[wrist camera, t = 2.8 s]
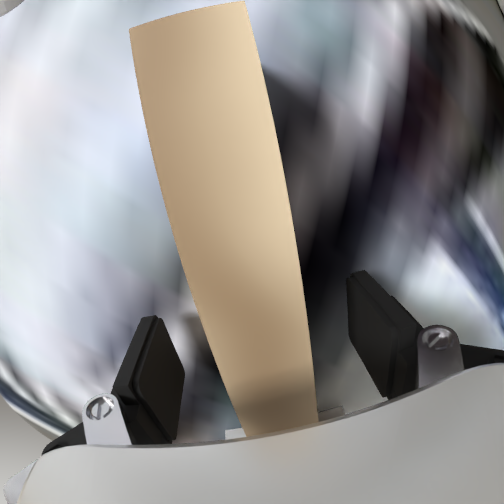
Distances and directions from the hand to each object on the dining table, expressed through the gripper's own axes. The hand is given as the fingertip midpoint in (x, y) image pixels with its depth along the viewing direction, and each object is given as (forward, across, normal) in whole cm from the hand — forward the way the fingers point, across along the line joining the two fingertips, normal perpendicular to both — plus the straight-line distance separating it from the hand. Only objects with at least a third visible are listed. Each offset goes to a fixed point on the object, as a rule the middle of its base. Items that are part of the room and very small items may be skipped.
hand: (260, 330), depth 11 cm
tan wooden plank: (+1, 0, -1) cm, 2 cm away
